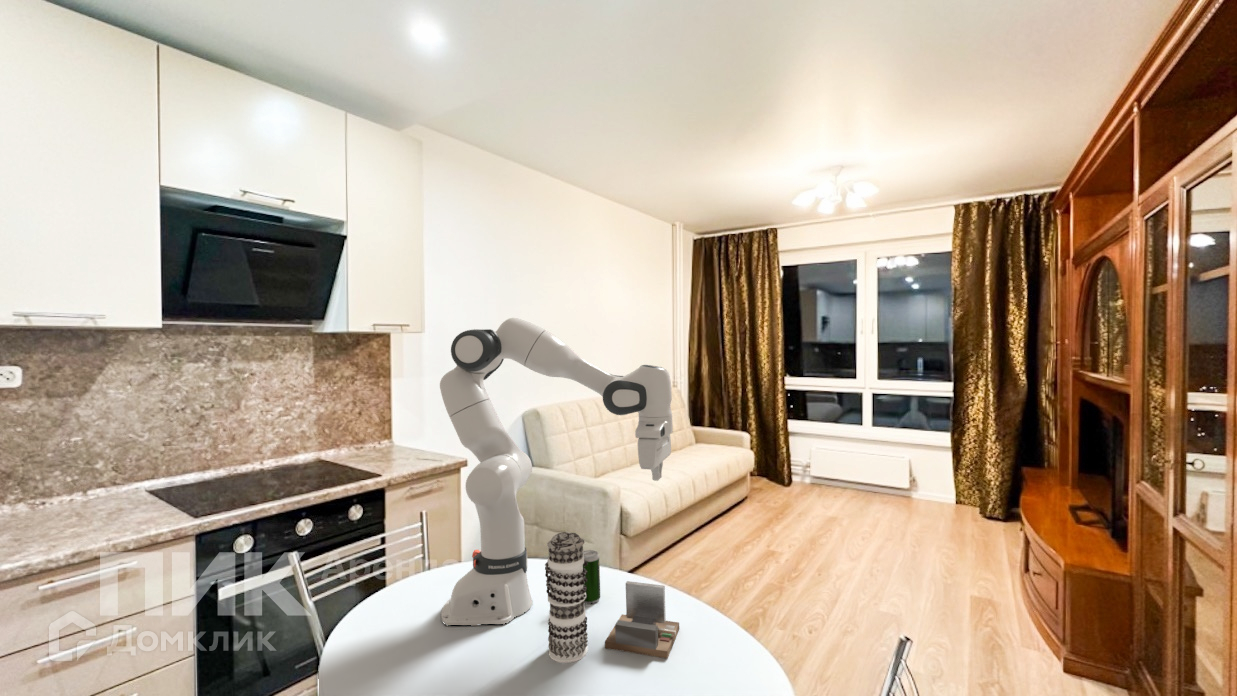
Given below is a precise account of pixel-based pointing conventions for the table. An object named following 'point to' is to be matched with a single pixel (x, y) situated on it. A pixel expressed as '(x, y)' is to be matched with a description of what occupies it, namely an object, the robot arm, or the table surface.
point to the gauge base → (656, 653)
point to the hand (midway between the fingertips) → (657, 479)
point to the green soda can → (592, 576)
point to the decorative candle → (566, 598)
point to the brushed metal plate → (646, 604)
